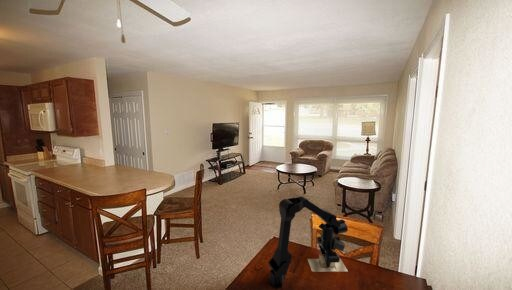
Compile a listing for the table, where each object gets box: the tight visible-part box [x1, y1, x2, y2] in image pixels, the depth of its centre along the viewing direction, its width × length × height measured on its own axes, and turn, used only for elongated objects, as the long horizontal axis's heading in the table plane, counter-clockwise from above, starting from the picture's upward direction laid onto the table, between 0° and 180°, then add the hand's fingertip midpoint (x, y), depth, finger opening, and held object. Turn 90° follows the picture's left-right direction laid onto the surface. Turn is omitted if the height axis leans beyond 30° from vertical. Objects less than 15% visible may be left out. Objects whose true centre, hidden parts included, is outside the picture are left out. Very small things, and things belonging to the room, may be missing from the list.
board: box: [307, 258, 349, 273], centre depth 114 cm, size 18×10×1 cm, turn 90°
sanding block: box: [318, 253, 335, 268], centre depth 113 cm, size 7×4×4 cm, turn 89°
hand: (326, 263), depth 113 cm, fingers closed on sanding block, 4 cm apart
